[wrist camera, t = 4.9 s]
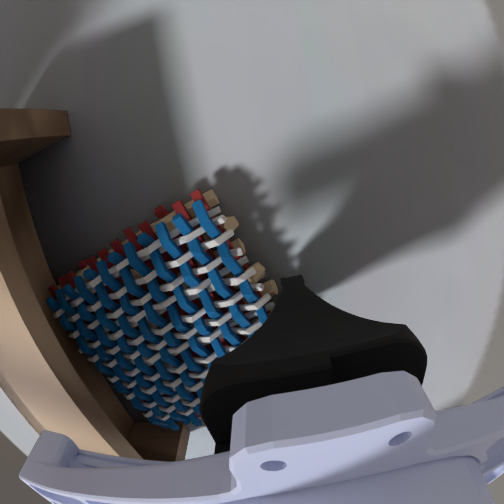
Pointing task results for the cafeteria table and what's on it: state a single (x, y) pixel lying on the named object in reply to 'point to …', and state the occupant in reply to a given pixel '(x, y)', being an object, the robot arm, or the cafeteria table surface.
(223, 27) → the cafeteria table surface
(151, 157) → the cafeteria table surface
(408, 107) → the cafeteria table surface
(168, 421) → the woven mat
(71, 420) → the curved wooden frame
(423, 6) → the cafeteria table surface
